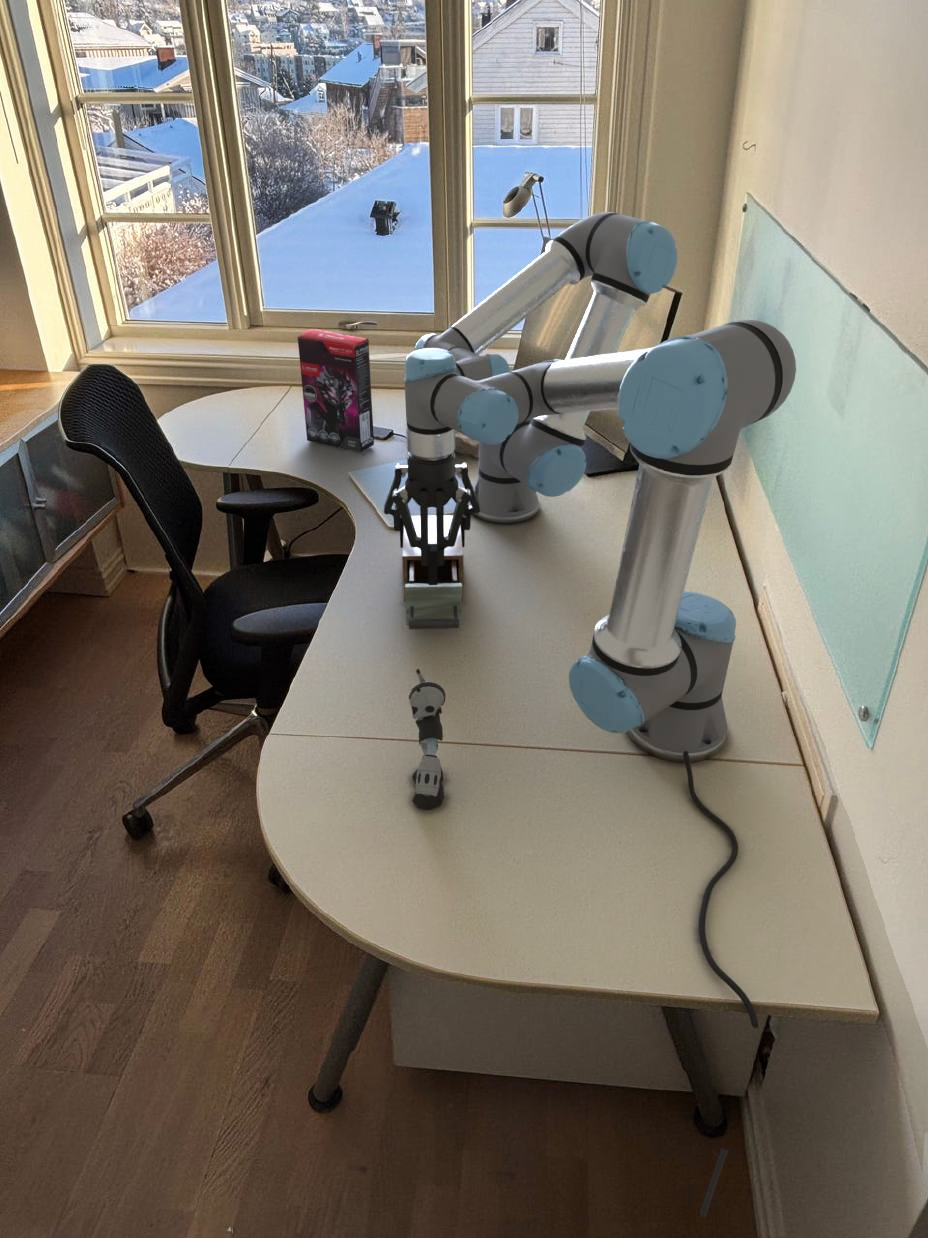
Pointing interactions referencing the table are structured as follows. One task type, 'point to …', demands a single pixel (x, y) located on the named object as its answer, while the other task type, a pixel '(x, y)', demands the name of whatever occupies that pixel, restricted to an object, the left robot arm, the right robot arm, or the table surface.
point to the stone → (466, 444)
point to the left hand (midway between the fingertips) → (432, 544)
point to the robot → (428, 742)
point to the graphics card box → (336, 389)
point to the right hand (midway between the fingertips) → (433, 580)
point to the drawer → (433, 597)
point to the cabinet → (415, 552)
